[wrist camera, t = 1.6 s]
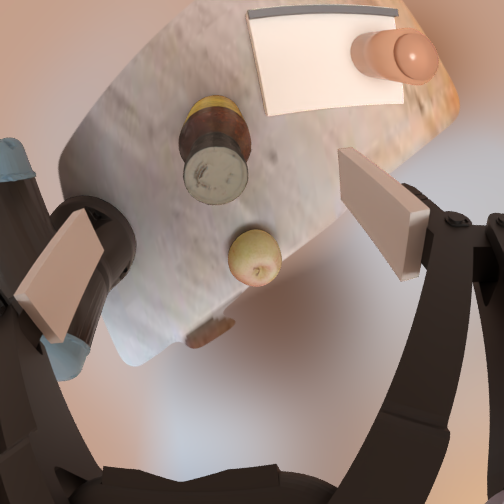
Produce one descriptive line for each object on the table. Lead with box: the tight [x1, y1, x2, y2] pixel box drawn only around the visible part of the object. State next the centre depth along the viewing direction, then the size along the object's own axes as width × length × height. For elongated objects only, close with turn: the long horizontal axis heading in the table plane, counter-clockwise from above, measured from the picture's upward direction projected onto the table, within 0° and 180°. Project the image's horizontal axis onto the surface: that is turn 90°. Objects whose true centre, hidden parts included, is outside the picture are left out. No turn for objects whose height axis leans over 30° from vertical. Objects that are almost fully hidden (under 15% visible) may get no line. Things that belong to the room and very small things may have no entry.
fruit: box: [228, 230, 282, 286], centre depth 41 cm, size 8×7×8 cm
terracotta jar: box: [350, 28, 439, 85], centre depth 24 cm, size 6×6×10 cm
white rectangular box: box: [246, 4, 404, 117], centre depth 28 cm, size 18×13×4 cm
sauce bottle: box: [179, 95, 251, 205], centre depth 26 cm, size 6×6×20 cm
